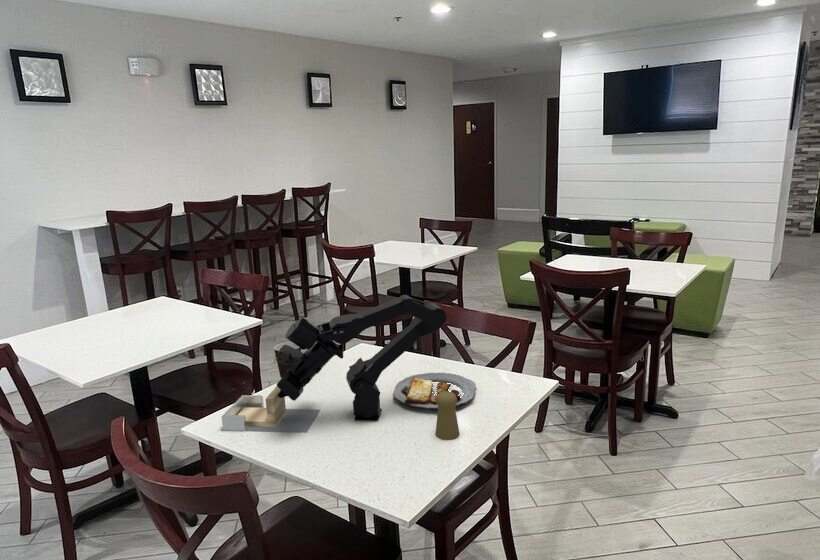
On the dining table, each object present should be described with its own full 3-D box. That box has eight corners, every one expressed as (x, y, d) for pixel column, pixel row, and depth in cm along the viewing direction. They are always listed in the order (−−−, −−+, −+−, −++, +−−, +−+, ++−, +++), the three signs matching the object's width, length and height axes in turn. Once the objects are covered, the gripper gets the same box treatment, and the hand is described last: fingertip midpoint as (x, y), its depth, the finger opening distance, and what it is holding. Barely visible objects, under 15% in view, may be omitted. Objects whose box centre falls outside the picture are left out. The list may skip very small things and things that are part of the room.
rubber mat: (320, 410, 154) (320, 409, 154) (306, 433, 142) (306, 432, 141) (242, 409, 157) (242, 408, 157) (221, 432, 144) (221, 430, 144)
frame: (264, 408, 156) (262, 395, 155) (245, 431, 144) (243, 417, 143) (243, 408, 157) (242, 395, 156) (223, 430, 144) (221, 416, 143)
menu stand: (286, 413, 153) (283, 386, 151) (275, 427, 145) (272, 399, 143) (245, 412, 154) (241, 385, 153) (232, 426, 147) (229, 398, 145)
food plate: (470, 416, 147) (470, 404, 146) (385, 412, 152) (385, 400, 151) (478, 381, 171) (477, 370, 170) (404, 378, 176) (404, 368, 175)
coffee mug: (277, 382, 175) (274, 352, 173) (276, 372, 183) (273, 343, 181) (314, 376, 178) (311, 347, 176) (311, 367, 186) (309, 339, 184)
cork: (444, 426, 143) (443, 386, 140) (464, 432, 139) (463, 392, 136) (430, 435, 138) (429, 394, 136) (450, 442, 134) (449, 400, 132)
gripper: (304, 325, 152) (269, 363, 156) (281, 349, 134) (242, 390, 138) (334, 353, 153) (299, 389, 156) (315, 380, 135) (275, 420, 138)
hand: (279, 396), depth 147 cm, fingers closed, pressing on menu stand
